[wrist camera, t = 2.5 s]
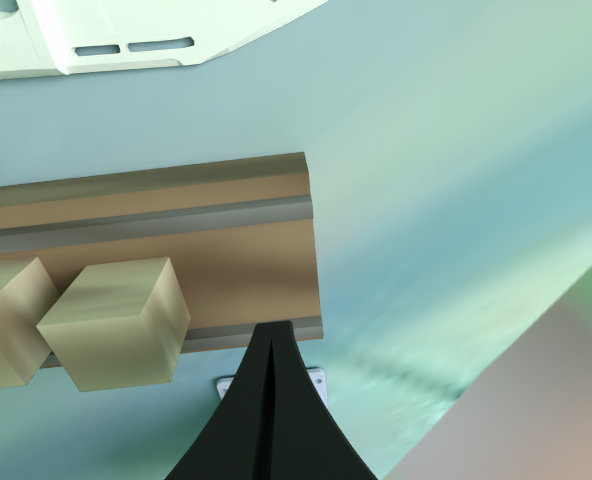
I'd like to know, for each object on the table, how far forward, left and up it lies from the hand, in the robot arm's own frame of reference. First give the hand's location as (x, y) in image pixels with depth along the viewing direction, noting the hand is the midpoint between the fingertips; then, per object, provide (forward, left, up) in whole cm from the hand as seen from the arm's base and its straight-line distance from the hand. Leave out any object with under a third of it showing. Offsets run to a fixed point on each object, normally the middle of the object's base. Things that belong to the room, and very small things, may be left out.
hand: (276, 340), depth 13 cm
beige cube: (-1, +7, -5) cm, 8 cm away
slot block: (0, +9, -8) cm, 12 cm away
